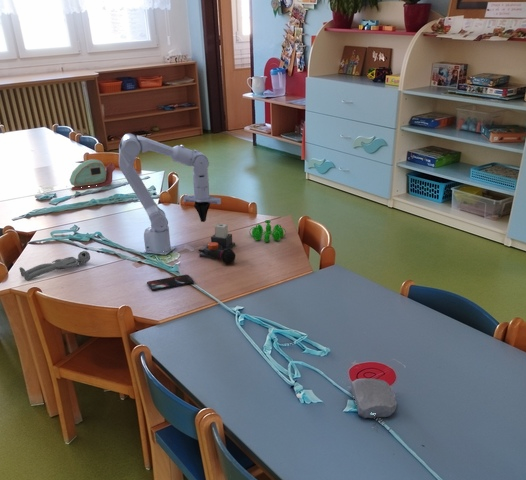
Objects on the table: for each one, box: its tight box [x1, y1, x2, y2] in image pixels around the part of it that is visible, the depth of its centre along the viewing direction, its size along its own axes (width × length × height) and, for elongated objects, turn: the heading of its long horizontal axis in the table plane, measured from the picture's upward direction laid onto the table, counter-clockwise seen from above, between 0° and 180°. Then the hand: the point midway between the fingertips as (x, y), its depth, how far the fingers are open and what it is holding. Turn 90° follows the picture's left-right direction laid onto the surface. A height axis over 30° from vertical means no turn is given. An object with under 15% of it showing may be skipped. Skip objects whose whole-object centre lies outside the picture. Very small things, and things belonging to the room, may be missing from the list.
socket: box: [210, 233, 233, 248], centre depth 226 cm, size 6×6×5 cm
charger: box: [214, 223, 229, 238], centre depth 224 cm, size 4×3×6 cm
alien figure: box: [19, 250, 91, 281], centre depth 208 cm, size 8×5×25 cm
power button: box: [207, 241, 218, 250], centre depth 219 cm, size 4×4×2 cm
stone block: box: [350, 377, 398, 419], centre depth 137 cm, size 12×5×10 cm
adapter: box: [199, 241, 236, 261], centre depth 224 cm, size 8×16×3 cm, turn 159°
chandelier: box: [249, 220, 287, 243], centre depth 235 cm, size 15×15×7 cm
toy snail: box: [69, 158, 116, 191], centre depth 304 cm, size 25×8×14 cm, turn 122°
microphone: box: [198, 248, 236, 265], centre depth 217 cm, size 6×6×20 cm
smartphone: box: [146, 274, 195, 291], centre depth 198 cm, size 7×1×15 cm
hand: (203, 221), depth 224 cm, fingers closed
